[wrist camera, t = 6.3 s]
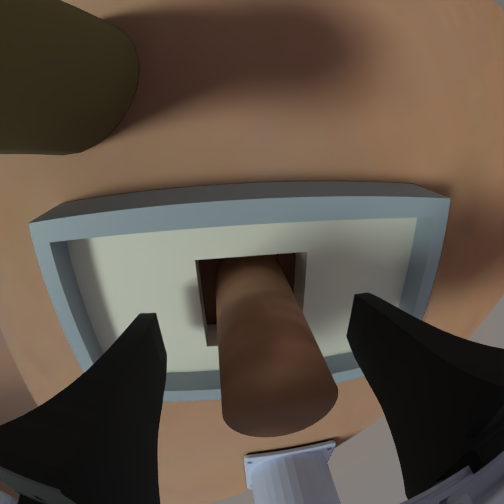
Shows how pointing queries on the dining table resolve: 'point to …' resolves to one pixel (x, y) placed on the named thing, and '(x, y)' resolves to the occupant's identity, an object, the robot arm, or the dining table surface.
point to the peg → (267, 352)
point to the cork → (61, 77)
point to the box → (235, 245)
